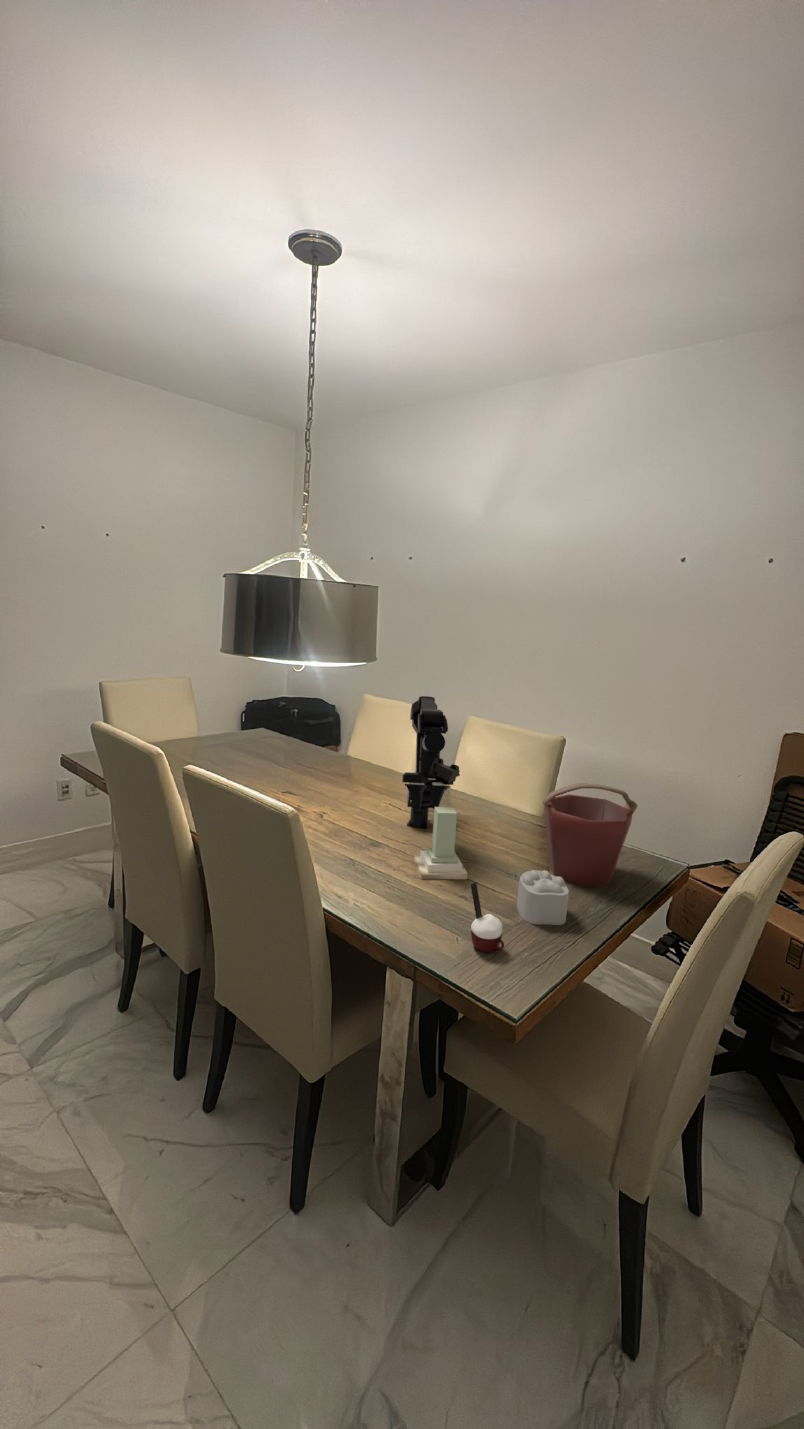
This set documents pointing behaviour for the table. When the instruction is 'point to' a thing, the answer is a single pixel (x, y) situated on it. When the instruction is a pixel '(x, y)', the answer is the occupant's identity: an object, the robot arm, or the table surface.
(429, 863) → the whitewashed top slab
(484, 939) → the cocoa
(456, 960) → the table surface
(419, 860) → the ash base slab
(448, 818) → the sage pillar
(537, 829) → the table surface
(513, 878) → the table surface
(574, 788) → the bucket
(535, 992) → the table surface
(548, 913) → the white paw print block
